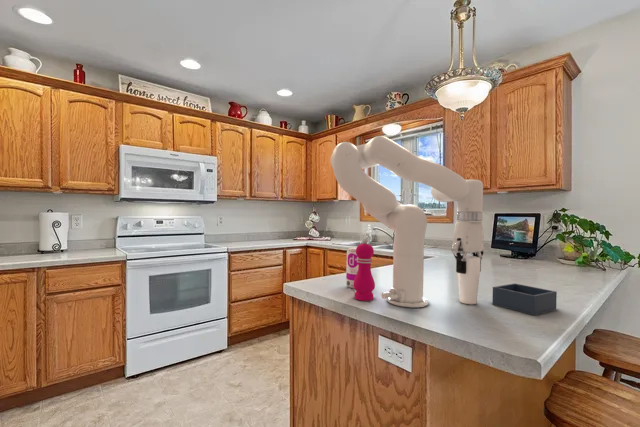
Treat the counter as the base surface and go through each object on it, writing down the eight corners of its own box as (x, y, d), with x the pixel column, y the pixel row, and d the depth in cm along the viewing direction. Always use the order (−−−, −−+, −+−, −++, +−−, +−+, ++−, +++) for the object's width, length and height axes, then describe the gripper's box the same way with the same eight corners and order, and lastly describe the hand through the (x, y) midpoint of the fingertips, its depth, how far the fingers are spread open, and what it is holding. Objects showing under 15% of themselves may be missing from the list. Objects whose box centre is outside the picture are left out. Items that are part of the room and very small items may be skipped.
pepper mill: (360, 302, 101) (361, 240, 101) (349, 296, 108) (350, 238, 108) (379, 300, 104) (380, 239, 104) (367, 294, 110) (368, 237, 110)
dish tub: (534, 315, 91) (535, 296, 91) (492, 304, 102) (492, 286, 102) (556, 309, 97) (556, 291, 97) (514, 299, 108) (514, 283, 108)
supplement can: (361, 290, 117) (362, 249, 117) (342, 287, 121) (343, 248, 121) (370, 286, 124) (371, 248, 124) (352, 283, 128) (352, 246, 128)
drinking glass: (482, 306, 99) (483, 258, 99) (459, 304, 100) (460, 257, 100) (476, 300, 106) (477, 256, 106) (454, 299, 107) (455, 255, 107)
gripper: (475, 217, 110) (474, 268, 110) (442, 217, 102) (441, 272, 102) (496, 218, 104) (495, 272, 104) (462, 217, 95) (461, 276, 95)
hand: (468, 271), depth 103 cm, fingers closed on drinking glass, 6 cm apart
